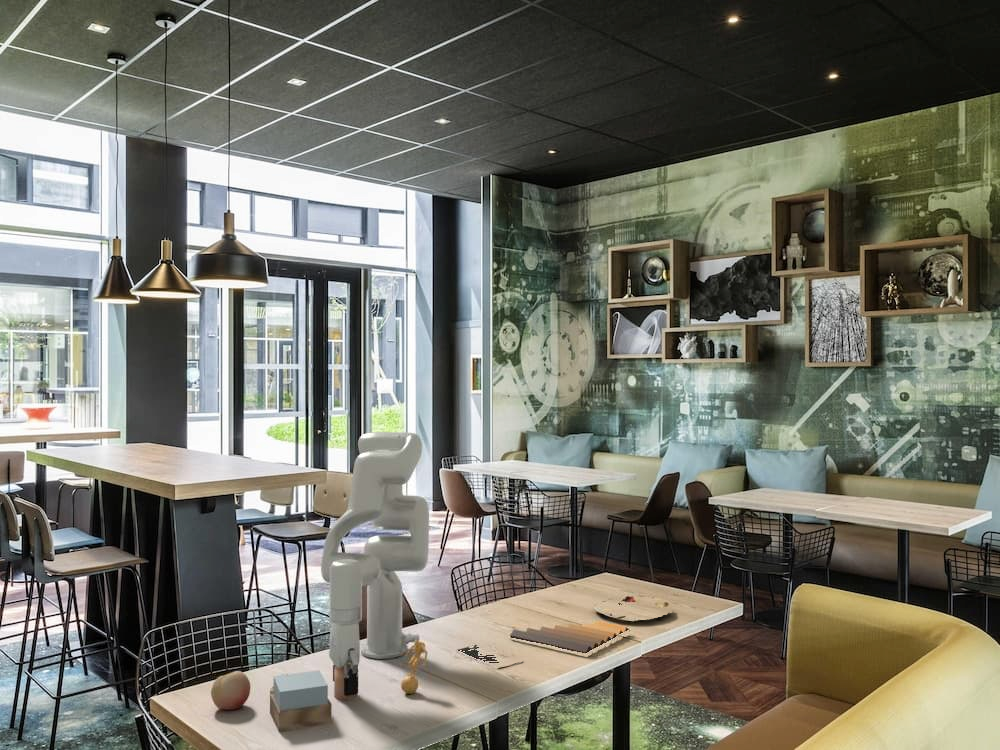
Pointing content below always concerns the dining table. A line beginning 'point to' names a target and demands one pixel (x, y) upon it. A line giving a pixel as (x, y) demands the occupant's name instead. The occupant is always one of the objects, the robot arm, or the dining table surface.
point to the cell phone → (475, 654)
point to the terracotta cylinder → (340, 684)
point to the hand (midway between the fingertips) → (345, 687)
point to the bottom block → (299, 716)
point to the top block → (300, 690)
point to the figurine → (413, 668)
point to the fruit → (231, 690)
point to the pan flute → (572, 635)
